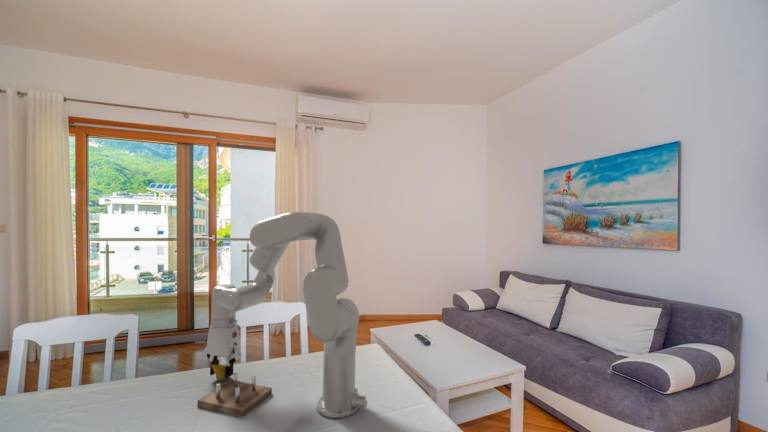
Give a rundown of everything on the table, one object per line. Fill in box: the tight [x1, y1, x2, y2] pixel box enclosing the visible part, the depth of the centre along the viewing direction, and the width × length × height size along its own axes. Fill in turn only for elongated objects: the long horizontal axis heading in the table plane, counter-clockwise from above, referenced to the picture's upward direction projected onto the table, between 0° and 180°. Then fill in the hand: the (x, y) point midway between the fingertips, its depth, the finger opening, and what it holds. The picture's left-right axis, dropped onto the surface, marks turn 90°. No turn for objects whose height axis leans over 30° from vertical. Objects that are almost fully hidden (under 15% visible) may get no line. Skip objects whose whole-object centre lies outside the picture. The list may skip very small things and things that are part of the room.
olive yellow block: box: [211, 364, 228, 382], centre depth 109 cm, size 5×5×10 cm
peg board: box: [196, 372, 273, 418], centre depth 98 cm, size 16×13×6 cm
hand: (221, 374), depth 109 cm, fingers closed on olive yellow block, 5 cm apart
